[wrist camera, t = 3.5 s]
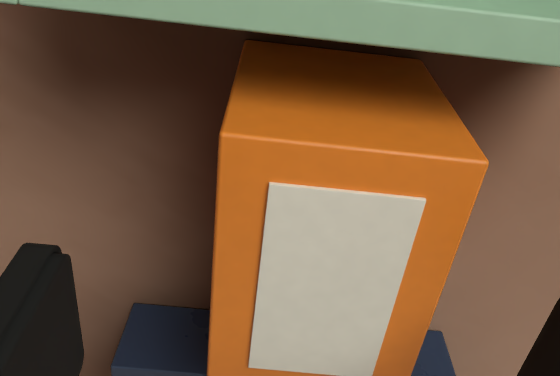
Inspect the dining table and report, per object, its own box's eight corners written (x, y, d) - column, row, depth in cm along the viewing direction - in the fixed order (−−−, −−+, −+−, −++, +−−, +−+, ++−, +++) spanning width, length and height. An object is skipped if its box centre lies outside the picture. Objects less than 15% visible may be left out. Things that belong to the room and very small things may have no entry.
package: (421, 58, 15) (493, 164, 9) (371, 252, 18) (403, 405, 13) (244, 38, 14) (217, 135, 9) (230, 238, 18) (205, 388, 13)
